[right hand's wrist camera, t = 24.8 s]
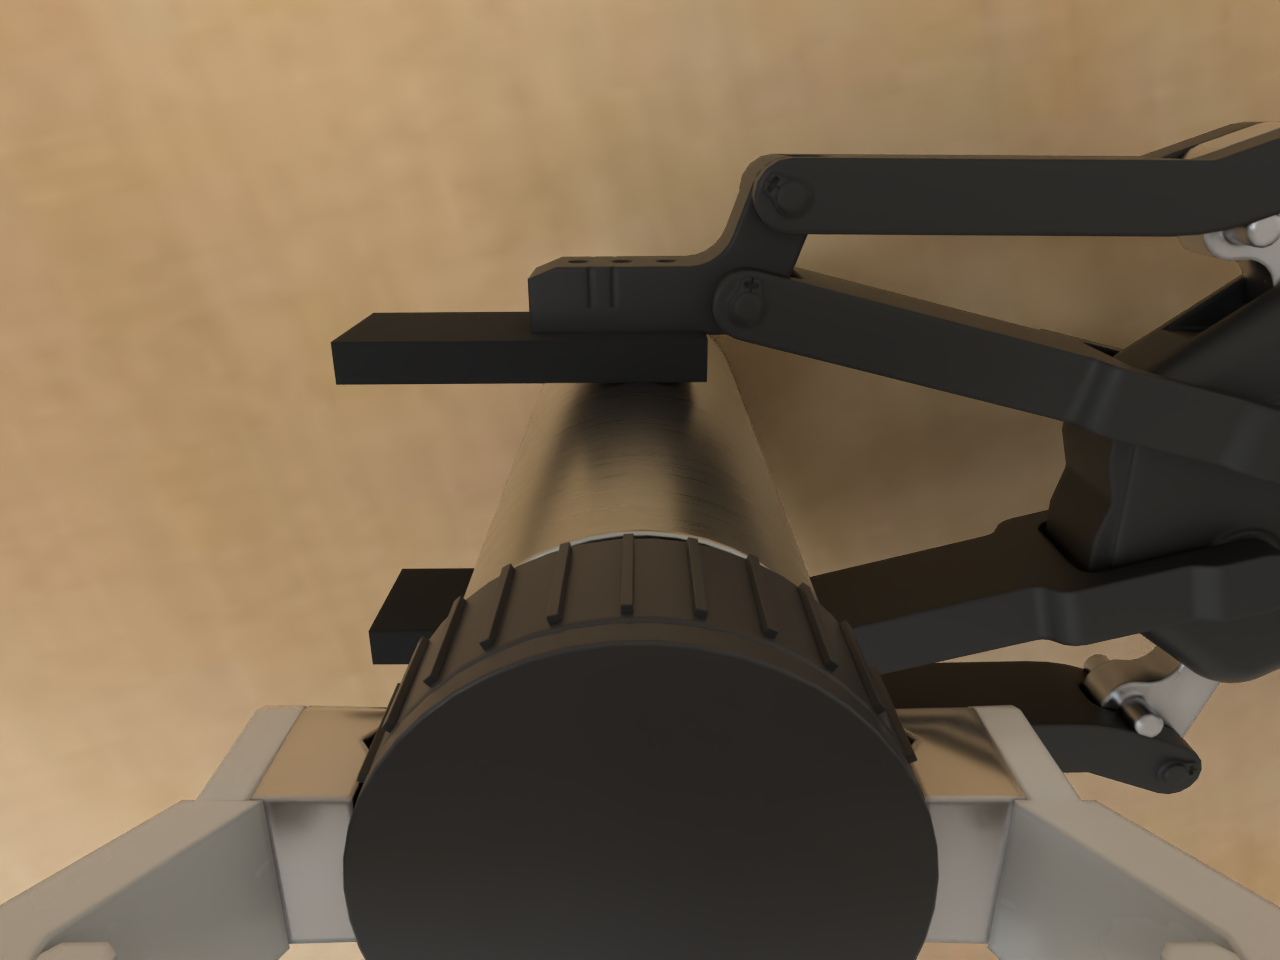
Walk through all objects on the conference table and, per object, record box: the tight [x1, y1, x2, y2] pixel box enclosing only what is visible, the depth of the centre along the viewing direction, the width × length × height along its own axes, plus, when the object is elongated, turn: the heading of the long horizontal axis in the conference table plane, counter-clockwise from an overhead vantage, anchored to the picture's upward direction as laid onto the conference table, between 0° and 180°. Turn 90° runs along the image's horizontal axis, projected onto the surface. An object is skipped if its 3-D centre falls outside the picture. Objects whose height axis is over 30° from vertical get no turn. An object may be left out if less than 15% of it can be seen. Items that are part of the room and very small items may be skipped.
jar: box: [464, 335, 819, 603], centre depth 16 cm, size 5×5×16 cm
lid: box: [343, 533, 939, 960], centre depth 9 cm, size 6×6×2 cm
